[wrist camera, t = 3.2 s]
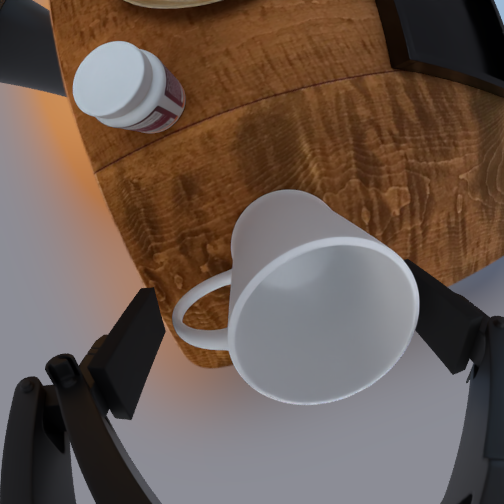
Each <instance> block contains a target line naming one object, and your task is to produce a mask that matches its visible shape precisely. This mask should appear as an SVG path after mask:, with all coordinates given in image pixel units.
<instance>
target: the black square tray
mask: <svg viewBox="0 0 504 504" xmlns="http://www.w3.org/2000/svg"><path fill="white" fill-rule="evenodd" d="M375 1H376V4H377V8H378V11H379V15H380V18H381V22H382V26H383V30H384V34H385V38H386V42H387V47H388V51H389V56H390V61H391V66H392V68H395V69H401V70H406V71H412V72H417V73H422V74H426V75H431V76H435V77H439V78H443V79H447V80H451V81H455V82H458V83H462V84H465V85H469V86H472V87H475V88H478V89H481V90H484V91H487V92H490V93H493V94H495V95H498V96H501V97H503V98H504V25H503V22H502V19H501V16H500V14H499V11H498V9H497V7H496V4H495V2H494V0H375Z"/></svg>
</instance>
